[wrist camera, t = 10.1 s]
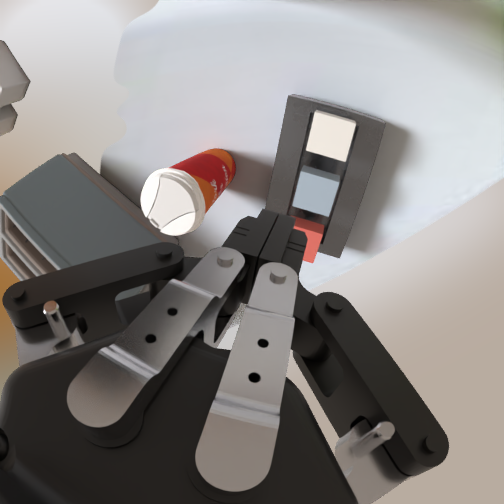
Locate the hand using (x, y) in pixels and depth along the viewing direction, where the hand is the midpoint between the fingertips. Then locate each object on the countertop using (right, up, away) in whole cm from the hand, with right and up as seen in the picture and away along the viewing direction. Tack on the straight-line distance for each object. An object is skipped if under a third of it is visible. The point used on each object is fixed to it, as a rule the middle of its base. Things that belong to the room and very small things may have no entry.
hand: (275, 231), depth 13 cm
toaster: (-29, +4, +44) cm, 53 cm away
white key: (+9, +14, +20) cm, 26 cm away
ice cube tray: (-64, +43, +31) cm, 83 cm away
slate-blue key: (+8, +8, +24) cm, 27 cm away
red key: (+7, +3, +28) cm, 29 cm away
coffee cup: (-6, +12, +31) cm, 34 cm away
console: (+8, +10, +27) cm, 30 cm away
